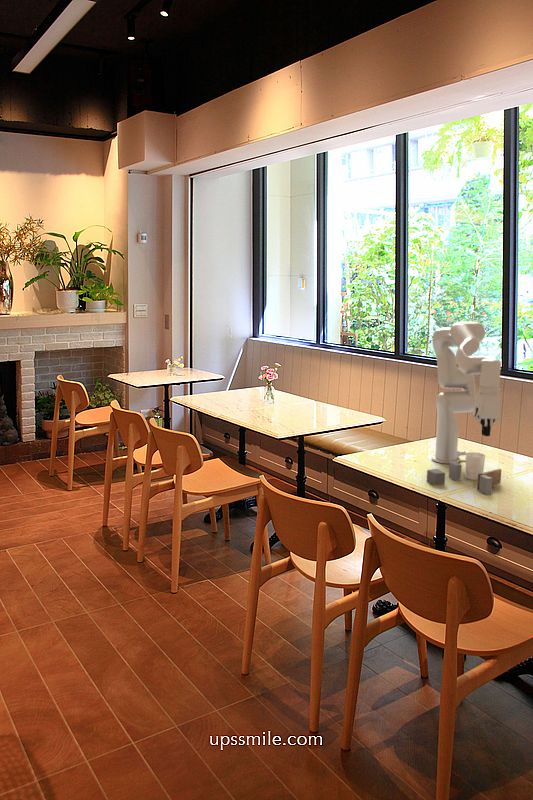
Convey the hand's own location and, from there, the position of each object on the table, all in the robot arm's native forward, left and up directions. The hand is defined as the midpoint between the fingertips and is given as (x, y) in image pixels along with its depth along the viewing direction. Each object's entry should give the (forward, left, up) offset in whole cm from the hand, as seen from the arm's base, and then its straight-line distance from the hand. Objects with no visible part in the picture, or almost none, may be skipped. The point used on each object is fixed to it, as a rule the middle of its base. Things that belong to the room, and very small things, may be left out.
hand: (485, 435), depth 299 cm
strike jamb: (+5, -12, -21) cm, 24 cm away
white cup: (-4, -10, -21) cm, 24 cm away
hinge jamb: (+5, +8, -21) cm, 23 cm away
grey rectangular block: (+16, -9, -21) cm, 28 cm away
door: (-1, +3, -21) cm, 21 cm away
